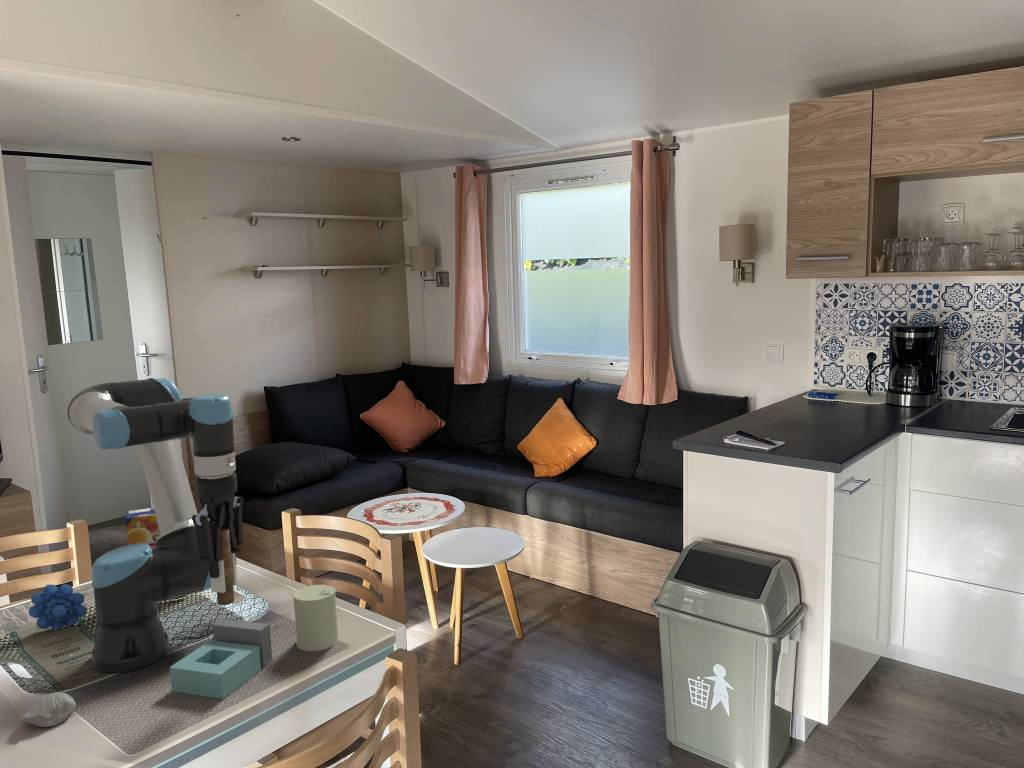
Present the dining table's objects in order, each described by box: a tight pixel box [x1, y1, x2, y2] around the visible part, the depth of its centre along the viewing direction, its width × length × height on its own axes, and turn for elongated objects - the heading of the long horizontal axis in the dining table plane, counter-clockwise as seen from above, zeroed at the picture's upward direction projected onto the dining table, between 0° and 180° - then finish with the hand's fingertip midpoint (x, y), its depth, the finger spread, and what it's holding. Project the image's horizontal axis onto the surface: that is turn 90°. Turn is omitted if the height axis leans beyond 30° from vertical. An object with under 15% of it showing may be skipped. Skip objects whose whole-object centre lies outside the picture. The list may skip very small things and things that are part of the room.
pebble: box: [20, 691, 77, 728], centre depth 144 cm, size 9×8×5 cm
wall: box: [212, 618, 273, 668], centre depth 165 cm, size 12×3×8 cm, turn 73°
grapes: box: [28, 584, 88, 630], centre depth 181 cm, size 12×7×12 cm, turn 126°
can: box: [292, 584, 340, 652], centre depth 172 cm, size 9×9×12 cm
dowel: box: [216, 528, 235, 606], centre depth 155 cm, size 3×3×15 cm
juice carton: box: [125, 507, 186, 599], centre depth 196 cm, size 12×8×24 cm, turn 112°
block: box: [169, 639, 262, 700], centre depth 157 cm, size 12×12×5 cm
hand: (224, 587), depth 156 cm, fingers closed on dowel, 3 cm apart
